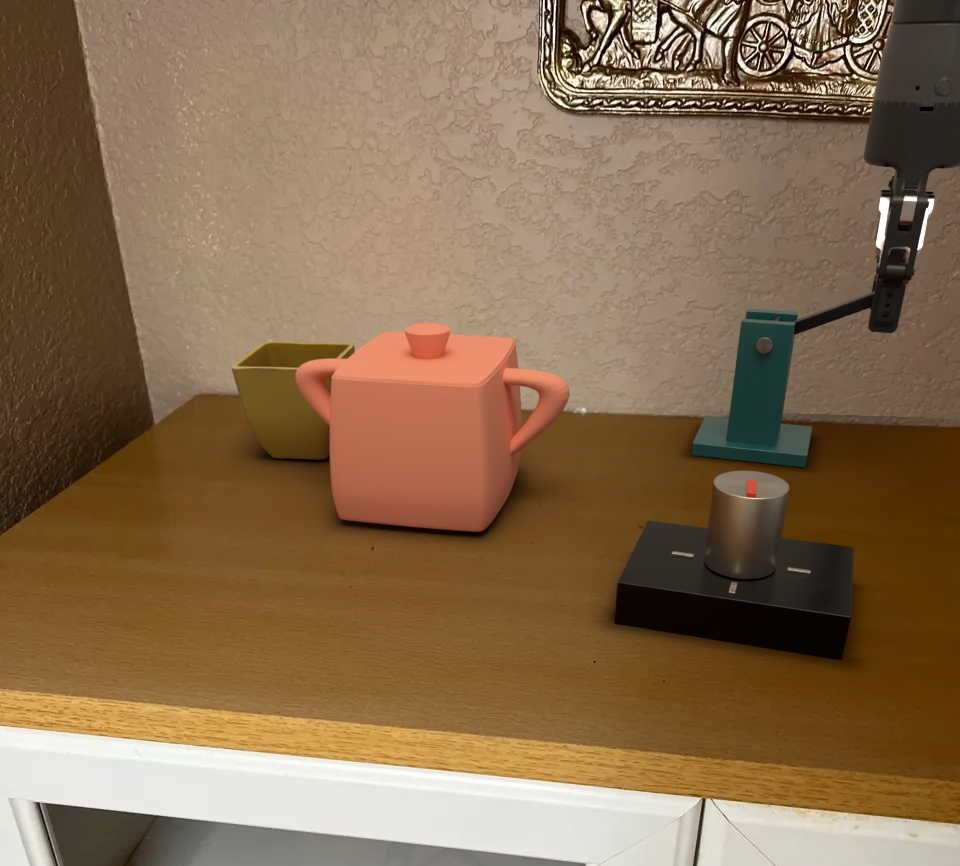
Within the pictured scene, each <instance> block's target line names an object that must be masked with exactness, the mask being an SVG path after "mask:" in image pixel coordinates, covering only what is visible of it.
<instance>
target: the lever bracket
mask: <svg viewBox="0 0 960 866" xmlns="http://www.w3.org/2000/svg"><path fill="white" fill-rule="evenodd" d="M778 316H780V317H781V320H782V321H769V320H770V319H773V318H776V317H778ZM797 319H799V311H790V310H775V309H760V308H747V309H746V312H745V318H742V319H741V321H740V329H739V336H738V343H737V351H736V358H735V359H736V360H735V367H734V368H735V369H734V375H733V382H732V390H731V398H730V407H729V414H728V418H727V417H720V416H719V417H717V416H709V415H708V416H707V415H705V416H704V418H703V420H702V422H701V423H700V426H699V428H698V430H697V433H696V435H695V438H694V439H693V441H692V445H691V453H690V455H691V456H694V457H703V458H712V459H722V460H732V461H740V462H749V463H758V464H768V465H777V466H786V467H795V468H806V465H807V461H808V454H809V447H810V443H811V438H812V432H813V426H811V425H801V424H800V425H799V424H790V423H782V421H783V414H784V408H785V402H786V395H787V389H788V383H789V376H790V369H791V364H792V357H793V350H794V344H795V338H796V335H794V329H795V322H792V321H794V320H797Z"/></svg>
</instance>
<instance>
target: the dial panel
mask: <svg viewBox="0 0 960 866" xmlns="http://www.w3.org/2000/svg"><path fill="white" fill-rule="evenodd" d="M707 530H708V527H703V526H696V525H687V524H679V523H672V522H664V521H656V520H650V519H649V520H647V521H646V523H645V524H644V527H643V529H642V531H641V533H640V535H639V537H638V539H637V541H636V544H635V546H634V547H633V550H632V552H631V554H630V556H629V558H628V560H627V561H626V564H625V566H624V568H623V570H622V572H621V574H620V576H619V578H618V580H617V585H616V598H615V610H614V611H615V612H614V623H615V624H619V625H625V626H632V627H637V628H644V629H651V630H656V631H662V632H669V633H674V634H679V635H686V636H693V637H698V638H704V639H705V638H706V639H711V640H717V641H718V640H719V641H724V642H730V643H736V644H742V645H747V646H748V645H750V646H756V647H761V648H766V649H773V650H779V651H786V652H792V653H797V654H799V653H800V654H803V655H804V654H805V655H811V656H816V657H817V656H818V657H822V658H829V659H835V660H843V656H844V652H845V648H846V643H847V637H848V634H849V628H850V625H851V619H852V609H853V608H852V607H853V606H852V604H853V587H854V586H853V583H854V567H855V565H854V564H855V546H849V545H842V544H841V545H840V544H832V543H827V542H826V543H825V542H819V541H818V542H817V541H810V540H803V539H795V538H787V537H781V543H780V549H779V555H778V561H777V567H776V570H775V571H774V572H773V573H772V574H770V575H768V576H766V577H762V578H757V579H738V578H732V577H727V576H724V575H721V574H718V573H716V572H714V571H712V570H711V569H709V568H708V567H707V566H706V564H705V562H704V554H705V546H706V538H707Z"/></svg>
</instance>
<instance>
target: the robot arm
mask: <svg viewBox="0 0 960 866" xmlns="http://www.w3.org/2000/svg"><path fill="white" fill-rule="evenodd" d="M893 2H894V3H893V8H892V12H891V13H892V14H891V20H890V24H891V25H889V29H888V33H887V37H886V41H885V44H884V47H883V50H882V54H881V57H880V61H879V67H878V72H877V77H876V83H875V89H874V95H873V100H872V106H871V112H870V117H869V121H868V122H869V124H868V128H867V134H866V140H865V145H864V151H863V160H864V162H865V163H866V164H868V165H871V166H875V167H881V168H892V169H894V170H895V171H894V175H891V179H890V180H888V185H887V187H888V188H881V189H880V193H879V197H878V204H877V210H876V211H877V214H876V215H877V218H878V219H877V224H876V228H875V237H874V242H875V245H874V253H875V256H874V259H875V264H876V266H875V272H874V275H873V276H874V277H873V283H872V287H871V292H873V291H875V292H874V297H873V303H872V307H871V308H869V309H870V313H869V319H868V323H867V327H868V330H869V331H870V332H872V333H882V334H893V333H895V332H896V331H897V329H898V327H899V322H900V317H901V312H902V307H903V304H904V303H903V302H904V299H905V293H906V288H907V285H909V283H910V281H912V278H913V277H914V276H915V271H916V268H914V267H915V263H916V258H917V256H919V255H920V254H921V251H922V248H923V246H924V241H925V235H926V230H927V225H928V221H929V220H930V218H931V216H932V213H933V210H934V205H935V200H936V194H934V192H935V191H934V190H931V189H929V190H927V188H928V187H927V186H928V181H929V176H930V174H931V172H932V171H934V170H936V169H941V170H942V169H954V168H958V167H960V0H894V1H893Z"/></svg>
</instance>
